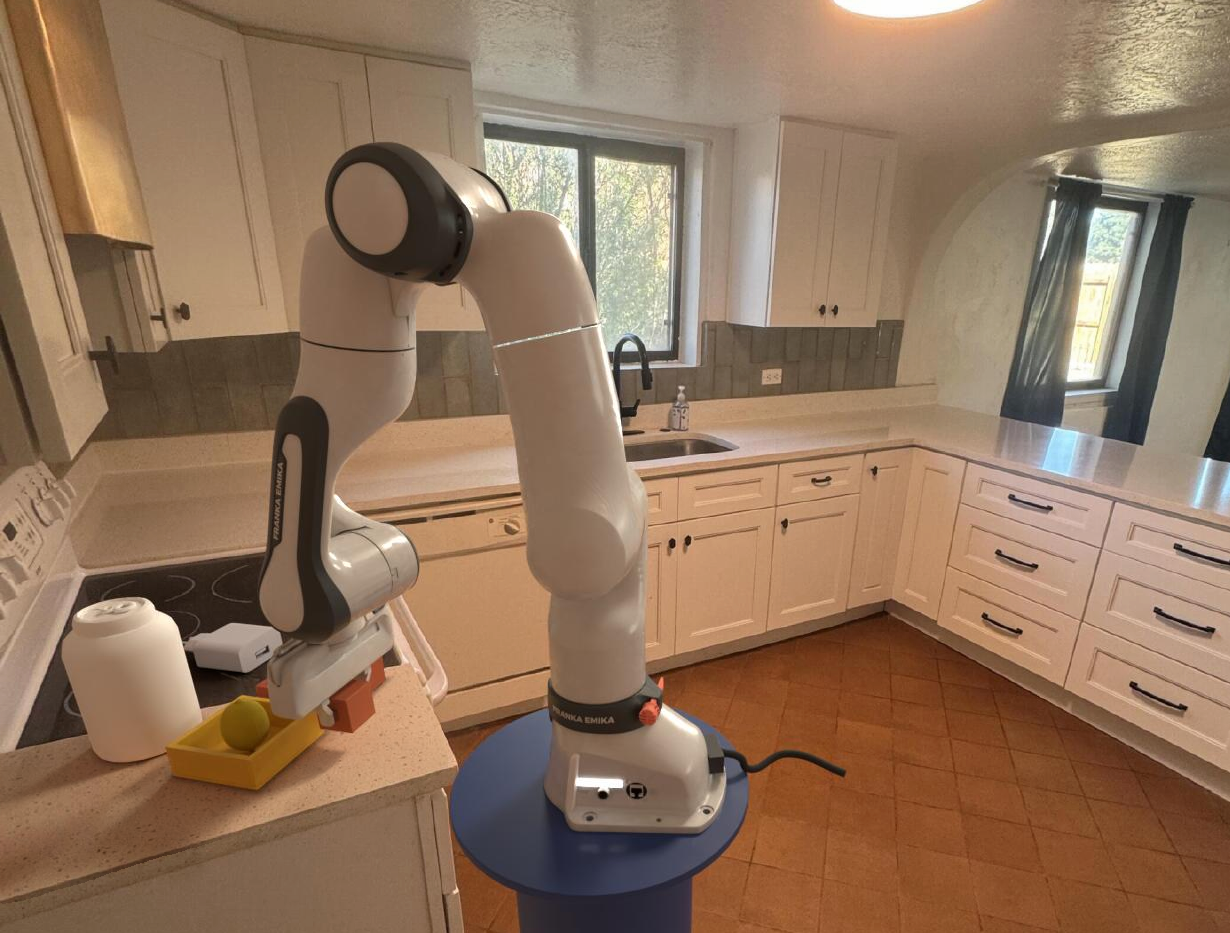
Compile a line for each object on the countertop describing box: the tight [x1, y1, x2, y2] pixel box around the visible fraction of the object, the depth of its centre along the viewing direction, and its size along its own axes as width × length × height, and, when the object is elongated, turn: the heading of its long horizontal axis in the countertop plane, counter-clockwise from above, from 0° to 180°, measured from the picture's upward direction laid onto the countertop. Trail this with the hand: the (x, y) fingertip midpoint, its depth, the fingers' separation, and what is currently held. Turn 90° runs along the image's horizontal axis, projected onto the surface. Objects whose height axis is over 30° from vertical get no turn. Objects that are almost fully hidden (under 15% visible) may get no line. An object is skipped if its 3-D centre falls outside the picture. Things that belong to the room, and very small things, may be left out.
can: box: [61, 596, 204, 763], centre depth 93 cm, size 12×12×20 cm
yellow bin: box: [165, 694, 325, 791], centre depth 93 cm, size 13×13×4 cm
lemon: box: [220, 698, 270, 752], centre depth 92 cm, size 6×6×8 cm
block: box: [317, 679, 376, 734], centre depth 93 cm, size 5×5×5 cm
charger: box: [181, 622, 283, 674], centre depth 118 cm, size 5×9×15 cm
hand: (346, 710), depth 93 cm, fingers closed on block, 5 cm apart
